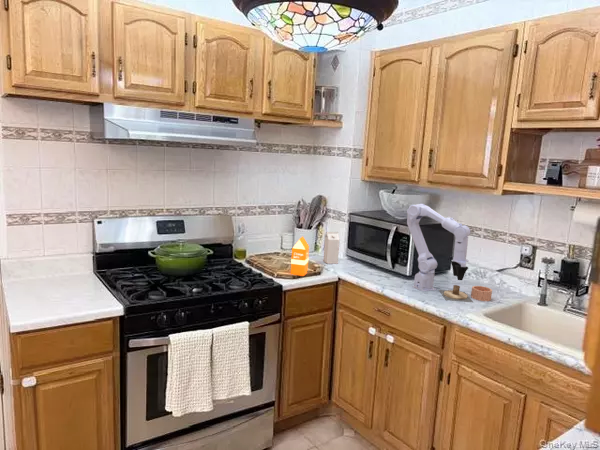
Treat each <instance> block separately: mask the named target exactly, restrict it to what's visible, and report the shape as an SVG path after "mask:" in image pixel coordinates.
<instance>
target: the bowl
mask: <svg viewBox="0 0 600 450" xmlns="http://www.w3.org/2000/svg"><path fill="white" fill-rule="evenodd" d="M470 296H471V297H470V298H472V299H473V300H477V301H481V302H490V301H491V300H492V296H493V289H492V288H491V287H487V286H482V285H473V286H472V287H471V293H470Z"/></svg>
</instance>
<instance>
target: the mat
mask: <svg viewBox="0 0 600 450" xmlns="http://www.w3.org/2000/svg"><path fill="white" fill-rule="evenodd" d="M438 291H439V293H440V294H441V296H442V298H443V299H444V300H445V301H451V302H462V303H463V302H464V303H474V301H473V300H472V299H471V297H470V296H469V295H468V296H467V299H463V300H459V299H452V298H449V297H446V296H445V295H444V291H447V289H446V290H445V289H438ZM459 291H460V290H459ZM460 292H463V293H465V294H467V292H465V291H460Z"/></svg>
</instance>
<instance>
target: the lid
mask: <svg viewBox="0 0 600 450" xmlns="http://www.w3.org/2000/svg"><path fill="white" fill-rule="evenodd" d="M460 289H461V286H460V285H457V284H454V285H453V286H452V289H451V290H450V289H449V290H447V289H446V290H447V291H444V295H445V296H446V297H449V298H452V299H459V300H463V299H467V296H469V295H468V294H467V293H466V292H465V293H466V294H465V293H463V292H464V291H461V292H460Z"/></svg>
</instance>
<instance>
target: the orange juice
mask: <svg viewBox="0 0 600 450" xmlns="http://www.w3.org/2000/svg"><path fill="white" fill-rule="evenodd" d="M309 253H310V245H309V243H307V241H306V239H305V237H304V236H301V237H300V238H299V239H298V240H297V241H296V243H294V245H293V247H292V248H291V259H290V275H292V274H293V276H300V277H304V276H306V275H307V273H308V272H307V271H308V268H309V255H310V254H309Z"/></svg>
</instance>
